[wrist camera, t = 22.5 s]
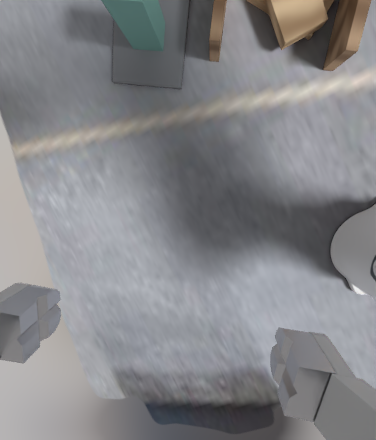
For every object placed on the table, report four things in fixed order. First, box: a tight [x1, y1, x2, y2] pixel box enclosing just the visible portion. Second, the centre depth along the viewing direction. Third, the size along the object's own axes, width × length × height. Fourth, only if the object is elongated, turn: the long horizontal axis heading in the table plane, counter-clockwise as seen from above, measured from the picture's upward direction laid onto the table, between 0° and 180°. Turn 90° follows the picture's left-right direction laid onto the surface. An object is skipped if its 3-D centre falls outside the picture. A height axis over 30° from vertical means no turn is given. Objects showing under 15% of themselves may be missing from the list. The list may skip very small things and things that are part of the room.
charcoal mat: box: [112, 0, 190, 89], centre depth 35 cm, size 12×14×1 cm
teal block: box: [101, 0, 165, 51], centre depth 30 cm, size 5×4×11 cm
